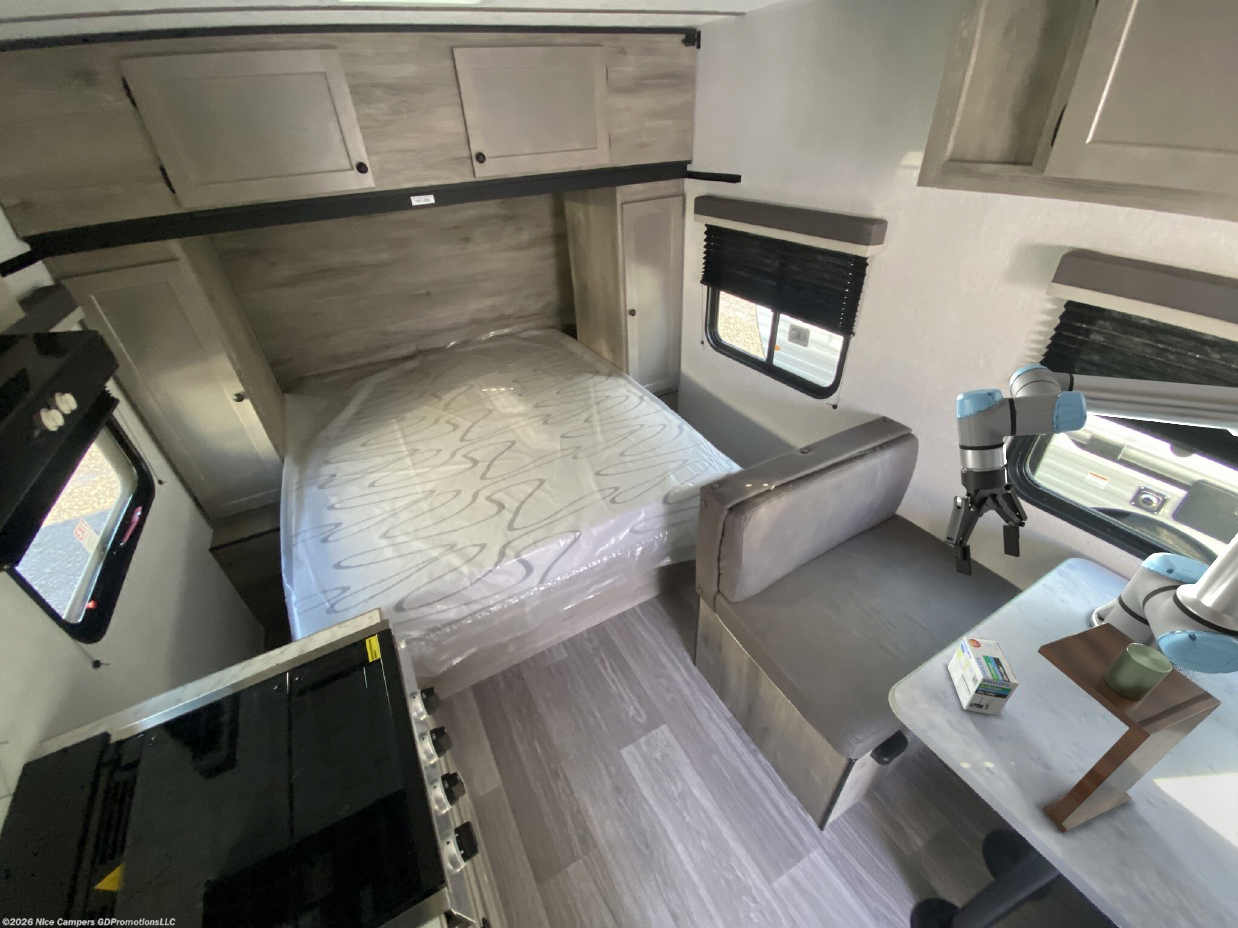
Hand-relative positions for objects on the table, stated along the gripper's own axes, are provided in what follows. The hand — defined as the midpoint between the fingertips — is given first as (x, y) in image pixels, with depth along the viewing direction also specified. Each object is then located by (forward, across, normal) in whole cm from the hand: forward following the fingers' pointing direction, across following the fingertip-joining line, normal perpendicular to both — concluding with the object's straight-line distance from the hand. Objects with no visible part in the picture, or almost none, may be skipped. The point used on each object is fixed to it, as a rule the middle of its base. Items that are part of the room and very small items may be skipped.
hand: (988, 564), depth 107 cm
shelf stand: (+34, +8, +16) cm, 38 cm away
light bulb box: (+27, +8, 0) cm, 28 cm away
